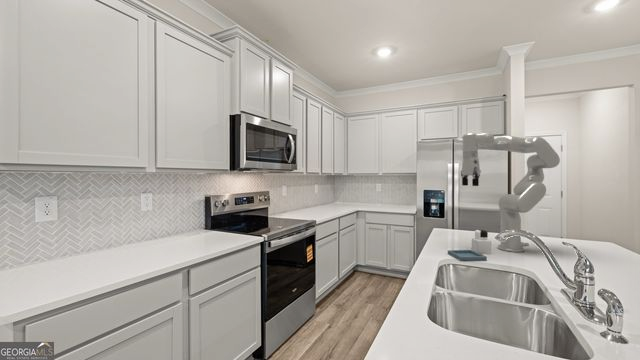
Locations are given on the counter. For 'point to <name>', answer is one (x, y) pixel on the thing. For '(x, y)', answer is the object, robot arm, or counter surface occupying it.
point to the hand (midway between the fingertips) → (470, 185)
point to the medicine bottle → (481, 242)
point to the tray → (467, 255)
